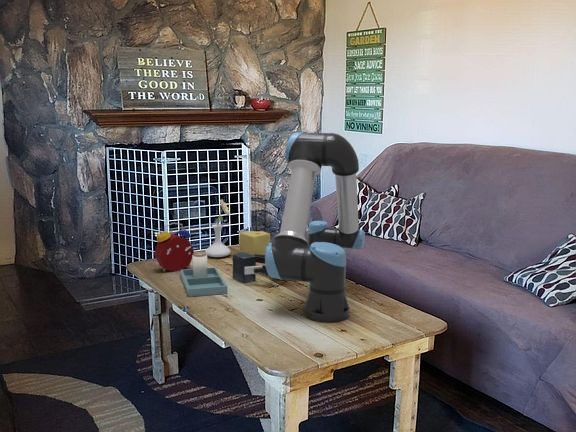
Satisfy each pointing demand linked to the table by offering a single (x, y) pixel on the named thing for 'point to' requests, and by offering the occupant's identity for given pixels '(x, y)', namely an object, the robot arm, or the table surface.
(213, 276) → the tray
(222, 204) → the flower in vase
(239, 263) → the box
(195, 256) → the jar
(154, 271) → the table surface
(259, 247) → the yellow block
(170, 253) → the alarm clock
